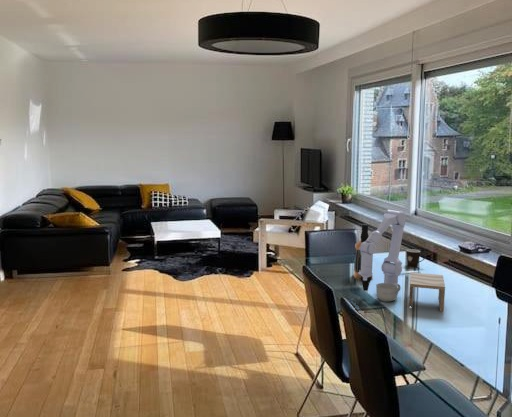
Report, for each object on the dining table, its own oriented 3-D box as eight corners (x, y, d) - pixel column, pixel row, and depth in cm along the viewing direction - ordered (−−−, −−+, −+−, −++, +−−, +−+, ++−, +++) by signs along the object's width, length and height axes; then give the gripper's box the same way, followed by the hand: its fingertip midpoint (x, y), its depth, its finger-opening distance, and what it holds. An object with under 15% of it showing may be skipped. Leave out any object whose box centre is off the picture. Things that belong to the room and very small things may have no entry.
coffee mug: (403, 264, 339) (403, 249, 337) (414, 263, 341) (415, 249, 340) (413, 269, 328) (414, 253, 326) (425, 268, 330) (426, 252, 329)
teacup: (382, 304, 260) (382, 288, 259) (371, 297, 270) (372, 282, 269) (406, 301, 264) (407, 286, 263) (395, 295, 274) (396, 280, 273)
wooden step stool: (409, 295, 275) (410, 272, 273) (441, 298, 270) (442, 275, 268) (408, 308, 254) (410, 283, 252) (443, 312, 249) (445, 286, 247)
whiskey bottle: (370, 275, 312) (372, 223, 308) (372, 280, 303) (375, 226, 298) (353, 274, 313) (355, 222, 309) (354, 279, 304) (356, 225, 299)
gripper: (360, 261, 276) (359, 285, 278) (357, 267, 262) (356, 293, 264) (373, 262, 274) (372, 287, 276) (371, 268, 260) (370, 295, 262)
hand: (365, 290), depth 270 cm, fingers closed
